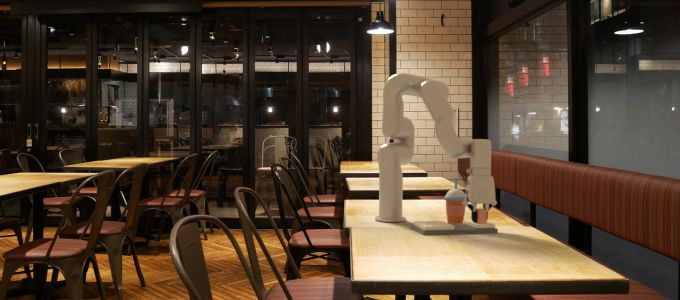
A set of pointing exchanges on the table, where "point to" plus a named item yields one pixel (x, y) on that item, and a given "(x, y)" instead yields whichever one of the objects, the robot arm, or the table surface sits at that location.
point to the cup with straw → (455, 205)
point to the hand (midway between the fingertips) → (479, 221)
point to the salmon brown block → (480, 220)
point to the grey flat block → (448, 228)
